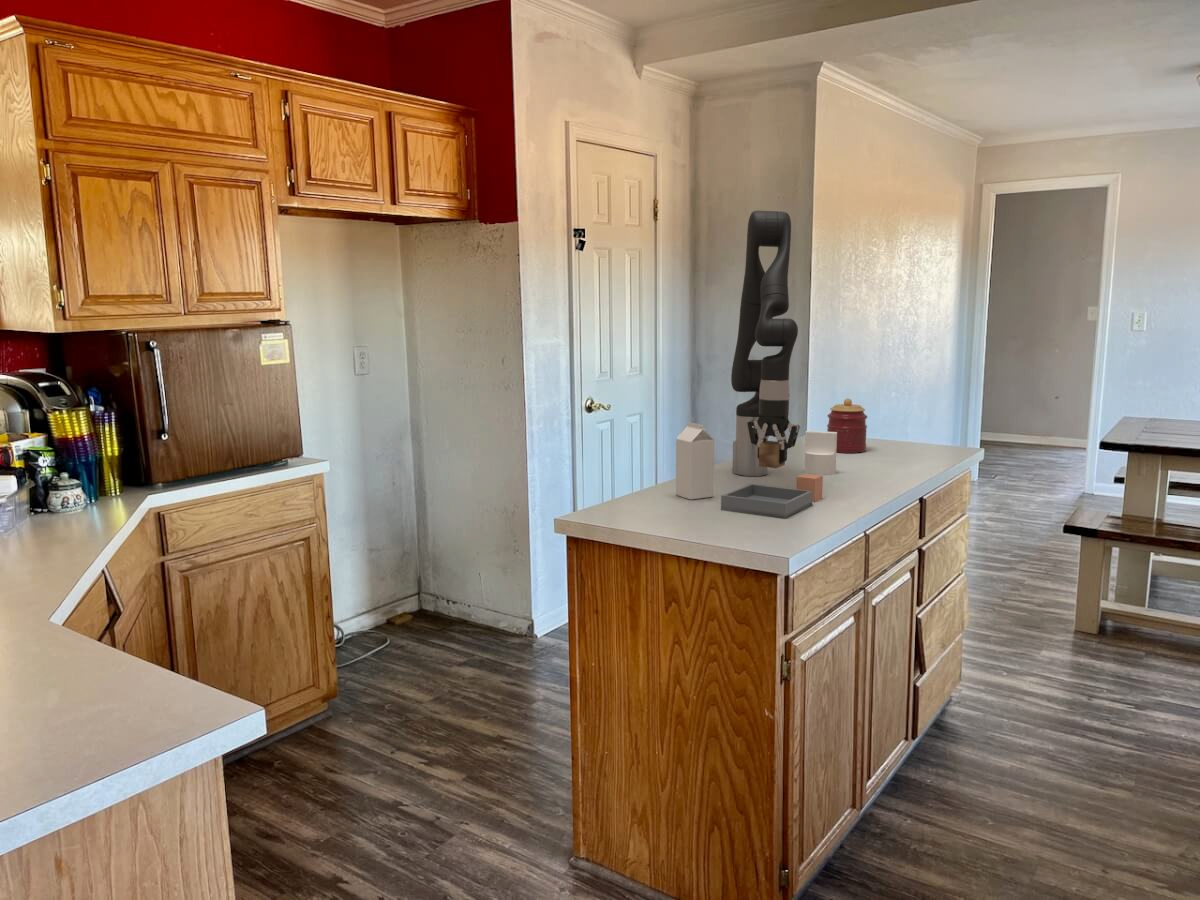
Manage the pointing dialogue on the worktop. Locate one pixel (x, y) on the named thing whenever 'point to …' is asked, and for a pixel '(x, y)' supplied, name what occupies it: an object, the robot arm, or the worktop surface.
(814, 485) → the terracotta block
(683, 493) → the milk carton
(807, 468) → the cylinder with rectangular tab
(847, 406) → the canister
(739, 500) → the tray
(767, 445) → the walnut block
